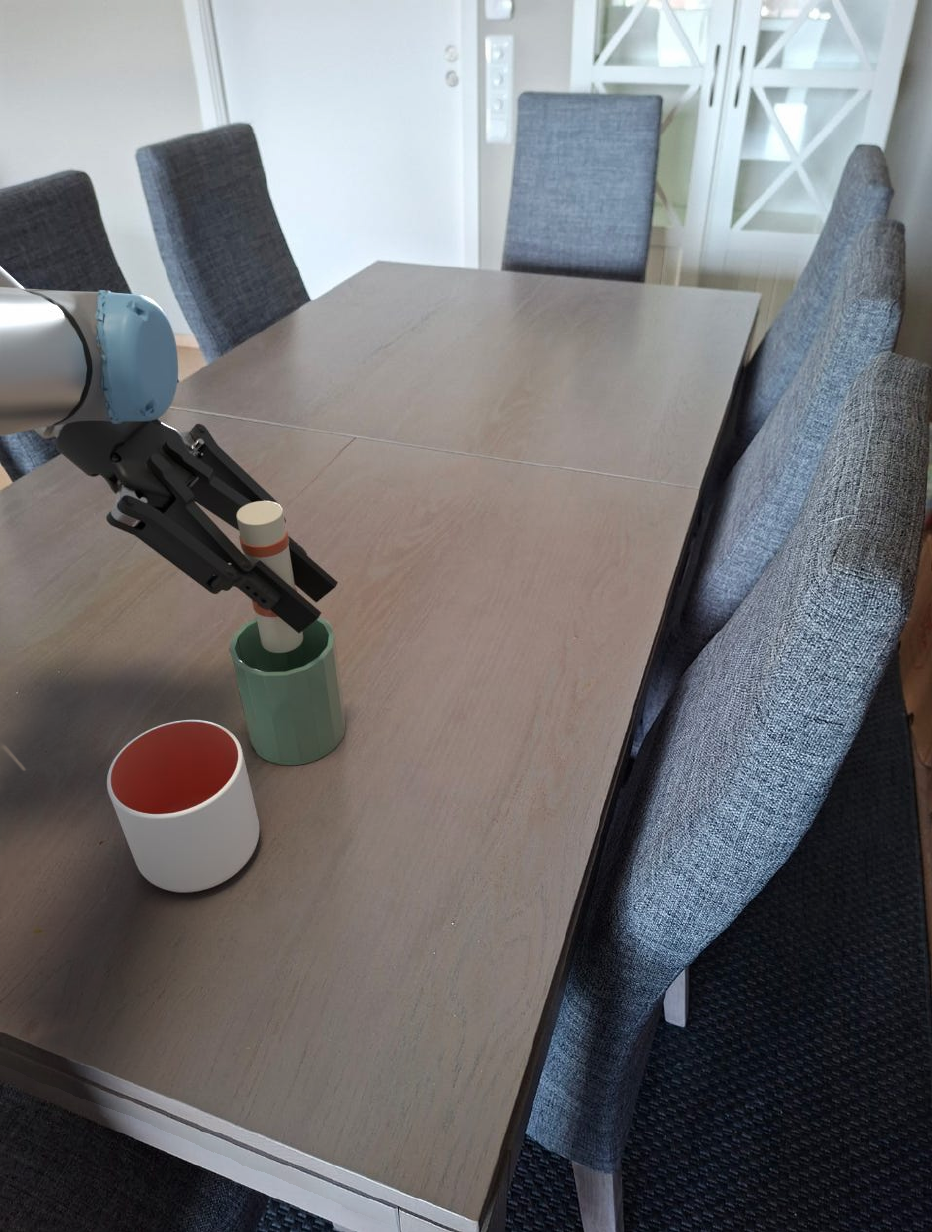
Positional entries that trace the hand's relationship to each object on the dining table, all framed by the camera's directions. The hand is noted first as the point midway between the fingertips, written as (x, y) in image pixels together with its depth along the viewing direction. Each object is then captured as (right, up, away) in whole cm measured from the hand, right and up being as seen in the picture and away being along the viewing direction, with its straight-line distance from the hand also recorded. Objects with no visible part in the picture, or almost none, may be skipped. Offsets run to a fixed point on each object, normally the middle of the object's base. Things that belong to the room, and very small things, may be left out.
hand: (318, 607), depth 73 cm
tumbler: (-4, -12, +10) cm, 16 cm away
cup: (-10, -20, -1) cm, 22 cm away
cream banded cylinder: (-4, -3, +3) cm, 6 cm away
